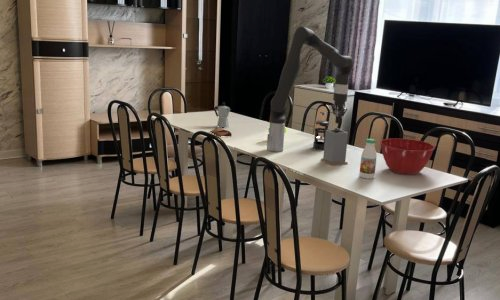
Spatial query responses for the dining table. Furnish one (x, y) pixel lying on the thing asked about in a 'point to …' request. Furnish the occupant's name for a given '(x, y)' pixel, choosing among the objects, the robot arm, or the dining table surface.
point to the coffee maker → (222, 115)
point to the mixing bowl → (406, 155)
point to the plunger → (336, 130)
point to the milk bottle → (368, 160)
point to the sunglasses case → (221, 132)
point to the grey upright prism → (335, 147)
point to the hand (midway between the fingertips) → (337, 123)
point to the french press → (317, 143)
